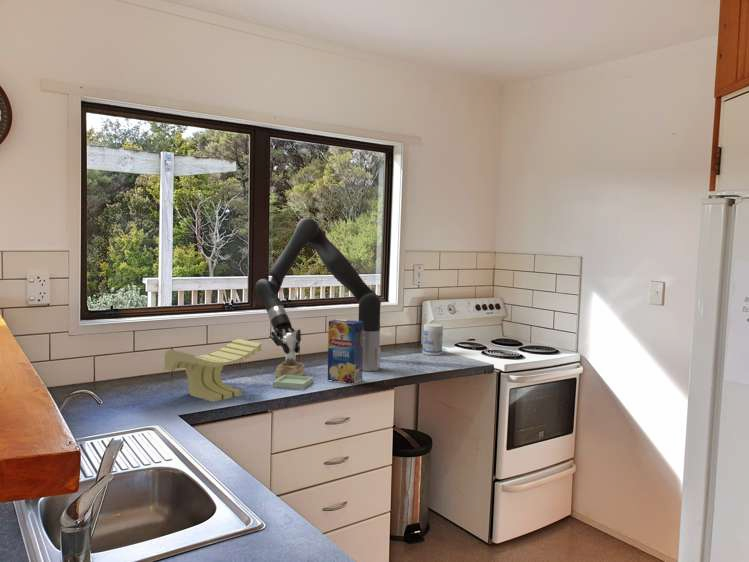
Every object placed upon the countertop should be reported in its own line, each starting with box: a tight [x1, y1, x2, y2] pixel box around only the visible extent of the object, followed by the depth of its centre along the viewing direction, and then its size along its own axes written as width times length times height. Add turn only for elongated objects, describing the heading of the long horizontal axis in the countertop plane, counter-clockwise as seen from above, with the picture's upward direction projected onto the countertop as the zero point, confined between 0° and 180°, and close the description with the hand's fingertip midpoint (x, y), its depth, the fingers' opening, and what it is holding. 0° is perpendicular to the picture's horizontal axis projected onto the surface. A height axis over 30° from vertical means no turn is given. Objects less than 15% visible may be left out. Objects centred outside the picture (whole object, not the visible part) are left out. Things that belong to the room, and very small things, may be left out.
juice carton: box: [327, 318, 364, 385], centre depth 246 cm, size 12×8×24 cm, turn 65°
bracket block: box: [275, 361, 305, 379], centre depth 251 cm, size 9×9×5 cm
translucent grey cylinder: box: [284, 332, 296, 366], centre depth 251 cm, size 4×4×14 cm
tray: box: [272, 375, 314, 390], centre depth 238 cm, size 12×12×2 cm
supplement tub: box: [422, 323, 444, 357], centre depth 305 cm, size 10×10×15 cm
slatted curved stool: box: [164, 338, 262, 402], centre depth 222 cm, size 30×16×18 cm, turn 141°
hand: (292, 352), depth 249 cm, fingers closed on translucent grey cylinder, 4 cm apart
